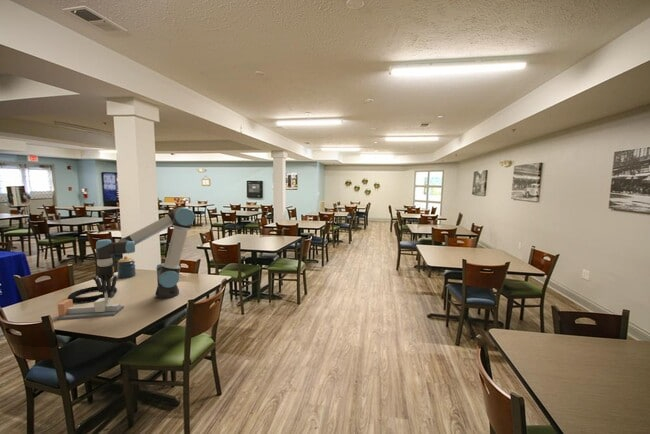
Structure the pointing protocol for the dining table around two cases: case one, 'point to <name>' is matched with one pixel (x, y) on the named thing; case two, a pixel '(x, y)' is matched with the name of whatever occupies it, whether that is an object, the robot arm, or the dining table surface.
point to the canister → (126, 267)
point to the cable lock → (88, 299)
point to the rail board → (90, 314)
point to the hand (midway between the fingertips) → (107, 302)
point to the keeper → (100, 305)
